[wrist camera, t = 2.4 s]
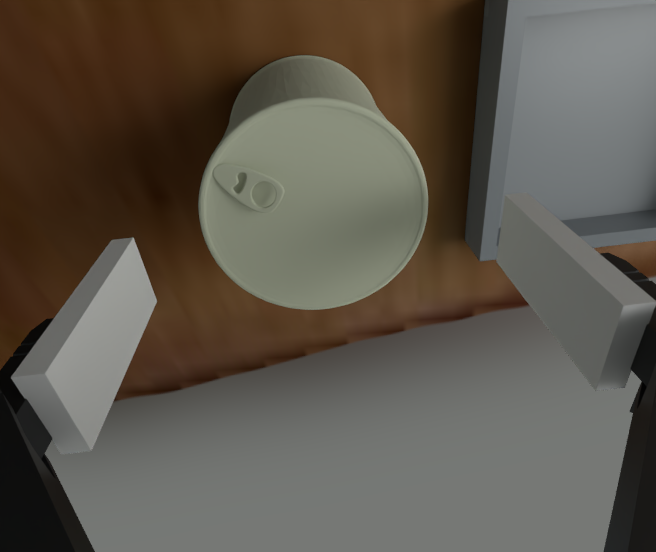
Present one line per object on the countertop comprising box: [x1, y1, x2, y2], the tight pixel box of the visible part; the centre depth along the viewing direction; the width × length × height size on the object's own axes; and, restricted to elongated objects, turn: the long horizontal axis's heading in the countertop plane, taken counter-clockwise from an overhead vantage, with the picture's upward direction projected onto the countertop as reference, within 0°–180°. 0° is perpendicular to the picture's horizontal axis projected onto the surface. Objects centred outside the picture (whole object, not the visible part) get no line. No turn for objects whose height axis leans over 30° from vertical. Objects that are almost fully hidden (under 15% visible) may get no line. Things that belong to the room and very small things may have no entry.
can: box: [198, 55, 428, 310], centre depth 22 cm, size 9×9×12 cm
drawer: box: [465, 0, 656, 261], centre depth 27 cm, size 17×15×3 cm
